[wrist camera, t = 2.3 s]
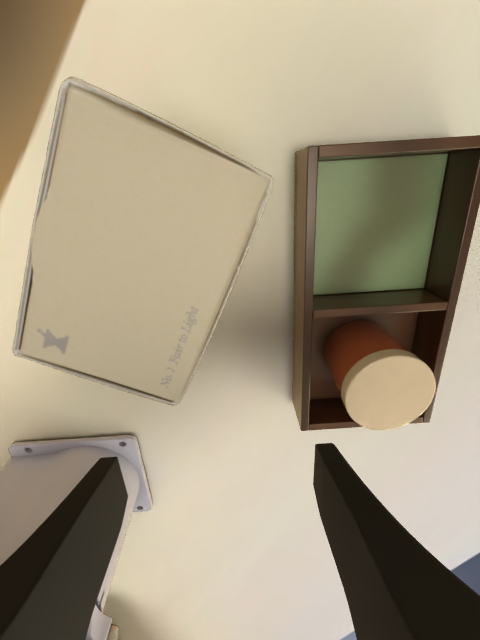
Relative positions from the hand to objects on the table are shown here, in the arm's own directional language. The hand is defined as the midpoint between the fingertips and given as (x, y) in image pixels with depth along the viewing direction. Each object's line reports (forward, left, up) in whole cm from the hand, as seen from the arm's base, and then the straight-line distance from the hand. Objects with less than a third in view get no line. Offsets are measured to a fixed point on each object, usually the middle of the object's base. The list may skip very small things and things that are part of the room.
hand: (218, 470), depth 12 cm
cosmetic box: (-1, +8, -11) cm, 13 cm away
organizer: (+9, +3, -10) cm, 14 cm away
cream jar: (+9, -1, -10) cm, 13 cm away
